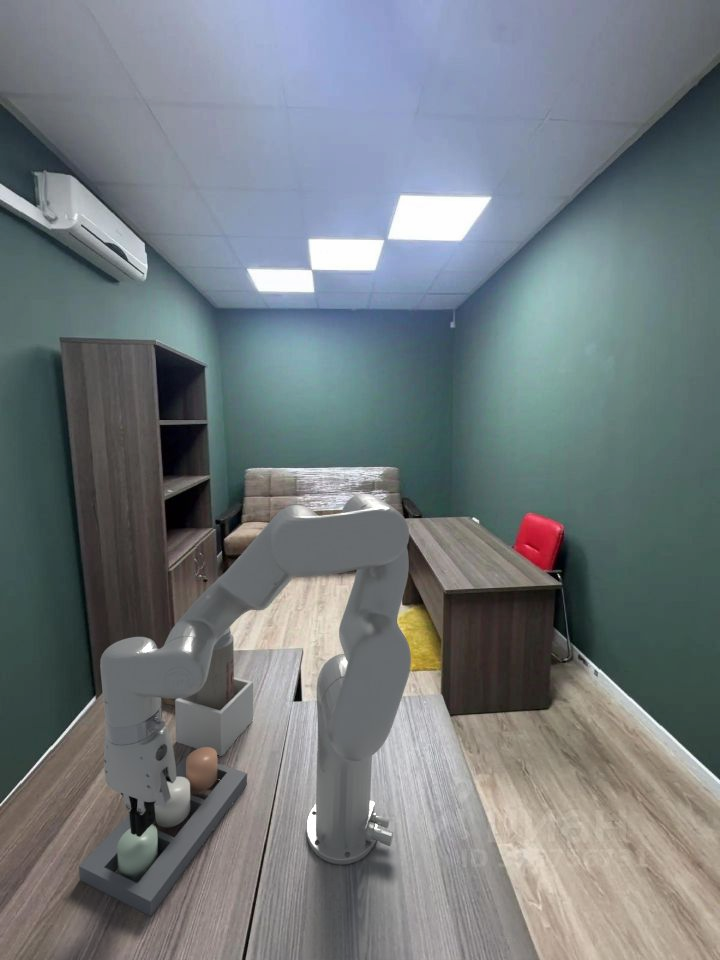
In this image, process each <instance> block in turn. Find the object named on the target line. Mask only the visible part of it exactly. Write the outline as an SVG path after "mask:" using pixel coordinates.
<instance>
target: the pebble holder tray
mask: <svg viewBox="0 0 720 960" xmlns="http://www.w3.org/2000/svg"><path fill="white" fill-rule="evenodd" d="M189 754H190V753H188V754H187V755H186V756H185V757H183V759H182V760H180V762H179V763H177V765H176V777H184V778H186V759H187V757H188V756H189ZM217 779H220V780H221V781H219V782H218V783H217V784H216V785H215V787H214V788H213V789H212V790H211V792H210V793H209V794H208V796H207V797H206V798H205V799H203V798H201V797H198V796H195V795H192V794H190V812H189V813H192V815H191V817H190V818H189V819H188V820H187V822H186V823H185V824H184V825H183V826H182V827H181V829H180V830H179V831H178V832H177V834H176V835H175V837H174V836H172V835H170V834H168V833H165V832H163V831H160V830H158V829H157V837H158V852H160V855H158V858H157V860H156V861H155V862H154V863H153V865H152V866H151V867H150V868H149V870H148V871H147V872H146V873H145V875H144V876H143V877H142V878H141V879H140V881H137V882H134V881H131V880H129V879H127V878H125V877H123V876H121V875H119V874H118V873H117V872H115V870H117V869H118V854H117V845H118V842H119V840H120V838H121V837H122V835H123V834H124V833H125V832H126V831H127V830H129V829H130V816H129V814H127V816H126V817H125V818H124V819H123V820H122V821H121V822H120V823H119V824H118V825H117V826H116V827H115V828H114V829H113V831H111V832H110V834H108V836H106V838H104V840H103V841H102V842H101V843H99V845H97V847H96V848H95V849H94V850H93V851H92V852H91V853H90V854H89V855H88V856H87V857H86V858H85V859H84V860H83V861H82V862H81V863H80V864H79V865H78V873H79V881H80V882H83V883H84V884H87V885H89V886H91V887H92V888H94V889H96V890H98V891H100V892H102V893H105V894H106V895H108V896H110V897H111V898H114V899H116V900H118V901H120V902H121V903H124V904H125V905H128V906H130V907H131V908H134V909H136V910H138V911H140V912H141V913H143V914H145V915H147V916H149V917H152V916H153V915H154V913H155V912H156V910H157V909H158V908H159V906H160V905H161V904H162V902H163V900H165V898H166V897H167V895H168V894H169V893H170V891H171V890H172V889H173V887H174V885H176V883H177V882H178V880H179V879H180V878H181V876H182V875H183V874H184V872H185V871H184V870H186V869H187V868H188V866H189V865H190V864H191V862H192V861H193V859H194V858H195V857H196V855H197V854H198V853H197V851H198V850H199V849H200V850H201V848H202V847H203V846H204V844H205V843H206V842H207V840H208V839H209V837H210V836H211V835H212V833H213V832H214V831H213V829H214V828H215V827H216V828H217V826H218V825H219V824H220V822H221V821H222V820H221V818H222V817H223V816H224V817H225V815H226V814H227V813H226V812H228V811H229V810H230V809H229V808H231V807H232V806H233V804H234V803H235V802H234V801H236V800H237V799H238V798H239V796H240V795H239V794H241V793H242V792H243V791H242V790H244V789H245V788H246V786H247V785H248V773H247V772H245V771H242V770H239V769H237V768H234V767H229V766H227V765H224V764H221V763H218V762H217ZM238 795H239V796H238ZM237 797H238V798H237ZM236 798H237V799H236ZM233 802H234V803H233ZM232 803H233V804H232ZM231 805H232V806H231ZM230 806H231V807H230ZM228 809H229V810H228ZM154 810H155V804H154ZM227 810H228V811H227ZM225 813H226V814H225ZM224 814H225V815H224ZM224 817H223V818H224ZM223 818H222V819H223ZM220 820H221V821H220ZM219 821H220V822H219ZM218 823H219V824H218ZM152 824H153V825H154V826H156V824H157V823H156V819H155V820H154V822H153V823H152ZM217 824H218V825H217ZM216 828H215V829H216ZM215 829H214V830H215ZM212 831H213V832H212ZM211 832H212V833H211ZM210 834H211V835H210ZM209 835H210V836H209ZM208 836H209V837H208ZM207 838H208V839H207ZM206 839H207V840H206ZM205 841H206V842H205ZM204 842H205V843H204ZM203 843H204V844H203ZM202 845H203V846H202ZM201 846H202V847H201ZM200 847H201V848H200ZM200 850H199V851H200ZM199 851H198V852H199ZM196 853H197V854H196ZM195 854H196V855H195ZM194 856H195V857H194ZM193 857H194V858H193ZM191 860H192V861H191ZM190 861H191V862H190ZM189 863H190V864H189ZM188 864H189V865H188ZM186 867H187V868H186ZM183 871H184V872H183Z"/></svg>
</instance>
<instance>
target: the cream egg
mask: <svg viewBox="0 0 720 960" xmlns="http://www.w3.org/2000/svg"><path fill="white" fill-rule="evenodd" d="M167 785H168V788H169V792H170V796H171V799H170V800H169V801H168V802H167V803H166V804H165V805H164V806H160V805H156V804H155V819H156V824H157V825H158V826H159V827H160V828H161V827H162V828H172V827H173V828H174V827H176V826H177V825H180V824H181V823H182V822H184V820H186V819H187V818H188V816H189V814H190V813H191V812H190V795H191V790H190V782H189V781H188V779H186V778H184V777H176V780H175V781H174V782H173V783H170V782H167Z"/></svg>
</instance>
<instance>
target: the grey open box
mask: <svg viewBox="0 0 720 960" xmlns="http://www.w3.org/2000/svg"><path fill="white" fill-rule="evenodd" d="M174 707H175V708H174V709H175V710H174V711H175V714H174V715H175V742H176V743H179V744H183V745H185V746H188V747H191V748H194V749H195V750H196V749H199V748H203V747H210V748H213V749H215V750H216V752H217V755H219V756H218V757H220V756H222V755H223V754H224V755H225V754H226V753H227V752H228V751H229V749H230V748H231V747H232V746H233V744H234V743H235V742H236V741H237V740H236V739H238V738H239V737H240V736H241V735H242V734H243V733H244V732H245V730H246V729H247V728H248V727H249V726H250V725H251V723H252V722H253V721H254V682H253V681H251V680H247V679H244V678H239V677H236V676H234V698H233V699H232V700H231V701H229V702H228V703H227V704H226V705H225V706H224V707H223V708H222V709H221V710H217V709H213V708H210V707H206V706H203V705H200V704H197V693H195V694H194V695H192V696H189V697H186V698H178V699H176V700H175V706H174ZM252 720H253V721H252ZM249 724H250V725H249ZM248 725H249V726H248ZM247 726H248V727H247ZM242 732H243V733H242ZM241 733H242V734H241ZM240 734H241V735H240ZM239 735H240V736H239ZM238 736H239V737H238ZM237 737H238V738H237ZM235 740H236V741H235ZM234 741H235V742H234ZM233 742H234V743H233ZM229 747H230V748H229ZM224 755H223V756H224ZM223 756H222V757H223Z"/></svg>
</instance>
